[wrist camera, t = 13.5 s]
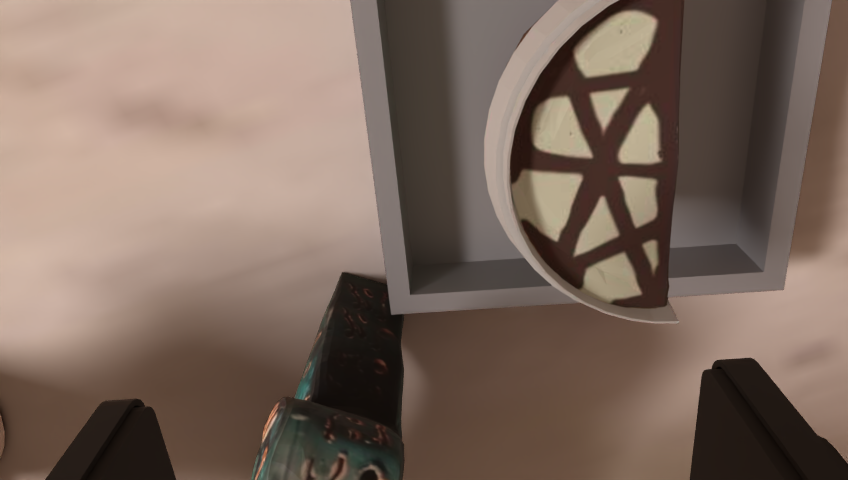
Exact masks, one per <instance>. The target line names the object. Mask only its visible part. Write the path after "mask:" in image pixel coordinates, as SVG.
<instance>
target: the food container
mask: <svg viewBox="0 0 848 480" xmlns="http://www.w3.org/2000/svg"><path fill="white" fill-rule="evenodd" d="M683 17H684V0H558V1H557V2H556V3H555V4H554V5H553V6H552V7H551V8H550V9H549V10H548V11H547V12H546V13H545V14H544V15H543V16H542V17H541V18H540V19H539V20H538V21H537V22H535V23H534V24H533V25H532V26H531V27H530V28H529V29H528V30H527V31H526V32H525V33H524V34H523V36H522V38H521V40H520V41H519V43H518V45H517V47H516V49H515V51H514V52H513V54H512V56H511V58H510V60H509V61H508V63H507V65H506V68H505V70H504V72H503V74H502V76H501V78H500V80H499V82H498V85H497V88H496V91H495V94H494V97H493V100H492V103H491V106H490V109H489V114H488V120H487V125H486V131H485V137H484V168H485V174H486V180H487V187H488V192H489V195H490V198H491V201H492V204H493V207H494V210H495V213H496V216H497V218H498V219H499V221H500V223H501V225H502V227H503V229H504V230H505V232H506V234H507V236H508V238H509V239H510V240H511V242H512V243H513V244H514V245H515V247H516V248H517V249H518V250H519V252H520V253H521V254H522V255H523V257H524V258H525V259H526V260H527V261H528V262H529V264H530V265H531V266H532V267H533V268H534V270H535V271H537V272H538V273H539V274H540V275H541V276H542V277H543V278H544V279H545V280H546V281H548V282H549V283H550V284H551V285H552V286H553V287H555V288H556V289H558V290H559V291H561V292H562V293H564V294H566V295H567V296H569V297H570V298H572V299H573V300H575V301H578V302H580V303H582V304H584V305H587V306H589V307H591V308H593V309H596V310H598V311H600V312H602V313H605V314H608V315H612V316H615V317H619V318H623V319H626V320H631V321H638V322H646V323H654V324H662V323H679V321H678V319H677V317H676V315H675V313H674V311H673V309H672V307H671V305H670V303H669V301H668V291H669V279H668V273H669V253H670V239H671V227H672V216H673V206H674V198H675V190H676V181H677V172H678V163H679V101H680V71H681V53H682V35H683Z"/></svg>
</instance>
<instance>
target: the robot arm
mask: <svg viewBox="0 0 848 480" xmlns="http://www.w3.org/2000/svg"><path fill="white" fill-rule="evenodd" d="M4 438H5V431H4V427H3V422H2V418H1V415H0V459H1V455H2V452H3V449H4ZM45 480H176V478H175V475H174V471H173V468H172V465H171V462H170V459H169V456H168V452H167V449H166V446H165V443H164V440H163V437H162V433H161V430H160V427H159V424H158V421H157V418H156V414H155V412H154V410H153V409H152V408H151V407H145V405H144V403H143V402H142V401H141V400H139V399H127V400H112V401H105V402H102V403H101V404H100V405H99V406H98V408H97V409H96V410H95V412H94V413H93V414H92V416H91V417H90V419H89V420H88V421H87V423H86V424H85V426H84V427H83V428H82V430H81V431H80V432H79V434H78V435H77V437H76V438H75V439H74V441H73V442H72V444H71V445H70V446H69V448H68V449H67V450H66V452H65V453H64V455H63V456H62V457H61V459H60V460H59V461H58V463H57V464H56V466H55V467H54V468H53V470H52V471H51V473H50V474H49V475H48V477H47V478H46V479H45ZM690 480H848V464H847V462H846V461H845V460H844V459H843V458H842V456H841V455H840V454H839V453H838V451H837V450H836V449H835V448H834V447H833V446H832V445H831V444H830V443H829V442H828V441H827V440H826V439H824V438H822V437H820V436H817V434H816V433H815V432H814V431H813V429H812V428H811V427H810V426H809V425H808V423H807V422H806V421H805V420H804V418H803V417H802V416H801V415H800V414H799V412H798V411H797V410H796V409H795V407H794V406H793V405H792V404H791V403H790V401H789V400H788V399H787V398H786V396H785V395H784V394H783V393H782V392H781V390H780V389H779V388H778V387H777V385H776V384H775V383H774V382H773V381H772V379H771V378H770V377H769V376H768V374H767V373H766V372H765V371H764V370H763V368H762V367H761V366H760V365H759V363H758V362H757V361H755V360H754V359H752V358H740V359H725V360H717V361H715V362H714V364H713V365H712V369H708V370H704V372H703V374H702V379H701V387H700V396H699V405H698V413H697V422H696V430H695V439H694V447H693V456H692V465H691V473H690Z"/></svg>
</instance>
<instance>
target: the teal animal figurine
mask: <svg viewBox="0 0 848 480" xmlns="http://www.w3.org/2000/svg"><path fill="white" fill-rule="evenodd" d="M403 322H404V314H395V315H391V309H390V301H389V294H388V286H387V285H386V284H382V283H378V282H375V281H371V280H367V279H364V278H360V277H356V276H353V275H350V274H346V273H343V272H342V274H341V276H340V278H339V281H338V284H337V286H336V289H335V291H334V294H333V296H332V298H331V301H330V303H329V305H328V307H327V310H326V312H325V314H324V317H323V319H322V322H321V325H320V328H319V331H318V334H317V336H316V339H315V342H314V345H313V348H312V351H311V353H310V356H309V359H308V362H307V365H306V367H305V370H304V373H303V376H302V378H301V381H300V384H299V386H298V389H297V391H296V394H295V396H294V398H291V397H283V398H282V399H281V400H279V401H278V402H277V404H276V405H275V406H274V408H273V410H272V411H271V413H270V415H269V418H268V420H267V422H266V424H265V426H264V430H263V437H262V443H261V446H260V449H259V452H258V454H257V457H256V461H255V464H254V468H253V473H252V478H251V480H402V479H403V470H404V444H403V442H402V429H401V411H402V393H403V378H404V367H403V359H402V351H401V336H402V327H403Z"/></svg>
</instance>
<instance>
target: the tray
mask: <svg viewBox="0 0 848 480" xmlns="http://www.w3.org/2000/svg"><path fill="white" fill-rule="evenodd" d="M557 1H558V0H350V2H351V10H352V18H353V25H354V33H355V41H356V48H357V56H358V64H359V71H360V79H361V87H362V94H363V102H364V110H365V117H366V125H367V133H368V140H369V148H370V156H371V163H372V171H373V179H374V186H375V194H376V202H377V209H378V217H379V225H380V232H381V240H382V248H383V255H384V263H385V271H386V278H387V286H388V294H389V301H390V309H391V315H395V314H411V313H427V312H443V311H459V310H475V309H491V308H506V307H522V306H538V305H554V304H570V303H580V302H578V301H575V300H573V299H572V298H570V297H569V296H567V295H566V294H564V293H562V292H561V291H559V290H558V289H556V288H555V287H553V286H552V285H551V284H550V283H549V282H548V281H546V280H545V279H544V278H543V277H542V276H541V275H540V274H539V273H538V272H537V271H535V270H534V268H533V267H532V266H531V265H530V264H529V262H528V261H527V260H526V259H525V258H524V257H523V255H522V254H521V253H520V252H519V250H518V249H517V248H516V247H515V245H514V244H513V243H512V242H511V240H510V239H509V238H508V236H507V234H506V232H505V230H504V229H503V227H502V225H501V223H500V221H499V219H498V218H497V216H496V213H495V210H494V207H493V204H492V201H491V198H490V195H489V192H488V187H487V180H486V174H485V168H484V137H485V131H486V125H487V120H488V114H489V109H490V106H491V103H492V100H493V97H494V94H495V91H496V88H497V85H498V82H499V80H500V78H501V76H502V74H503V72H504V70H505V68H506V65H507V63H508V61H509V60H510V58H511V56H512V54H513V52H514V51H515V49H516V47H517V45H518V43H519V41H520V40H521V38H522V36H523V34H524V33H525V32H526V31H527V30H528V29H529V28H530V27H531V26H532V25H533V24H534V23H535V22H537V21H538V20H539V19H540V18H541V17H542V16H543V15H544V14H545V13H546V12H547V11H548V10H549V9H550V8H551V7H552V6H553V5H554V4H555V3H556V2H557ZM831 4H832V0H684V17H683V35H682V53H681V71H680V101H679V163H678V172H677V181H676V190H675V198H674V206H673V216H672V227H671V239H670V253H669V273H668V279H669V291H668V297H681V296H697V295H713V294H729V293H745V292H761V291H776V290H784V285H785V279H786V273H787V267H788V261H789V255H790V249H791V243H792V237H793V231H794V225H795V219H796V213H797V207H798V201H799V195H800V189H801V183H802V177H803V171H804V165H805V159H806V153H807V147H808V141H809V135H810V129H811V123H812V117H813V111H814V105H815V99H816V93H817V88H818V82H819V76H820V70H821V64H822V58H823V52H824V46H825V40H826V34H827V28H828V22H829V16H830V10H831Z"/></svg>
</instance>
